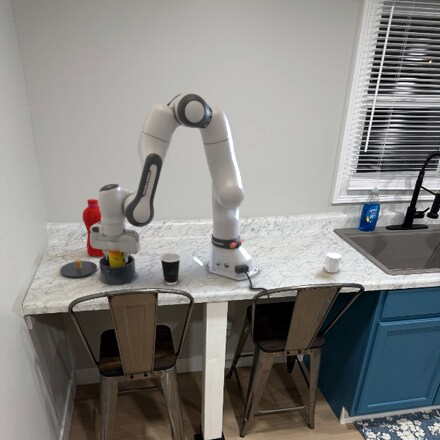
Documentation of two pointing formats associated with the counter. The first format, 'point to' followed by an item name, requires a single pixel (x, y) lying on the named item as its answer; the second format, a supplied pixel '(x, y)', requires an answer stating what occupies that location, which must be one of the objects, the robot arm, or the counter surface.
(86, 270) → the pot lid
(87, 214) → the water bottle
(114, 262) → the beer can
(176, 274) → the dixie cup
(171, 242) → the counter surface
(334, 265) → the white cylinder
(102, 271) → the pot
